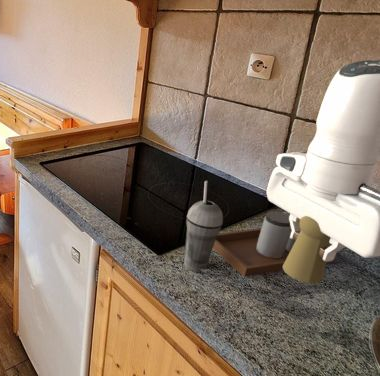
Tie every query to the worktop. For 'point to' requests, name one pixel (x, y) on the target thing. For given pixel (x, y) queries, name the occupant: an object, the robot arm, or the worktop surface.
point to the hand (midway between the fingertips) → (310, 249)
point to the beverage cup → (201, 232)
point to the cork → (307, 253)
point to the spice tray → (247, 253)
